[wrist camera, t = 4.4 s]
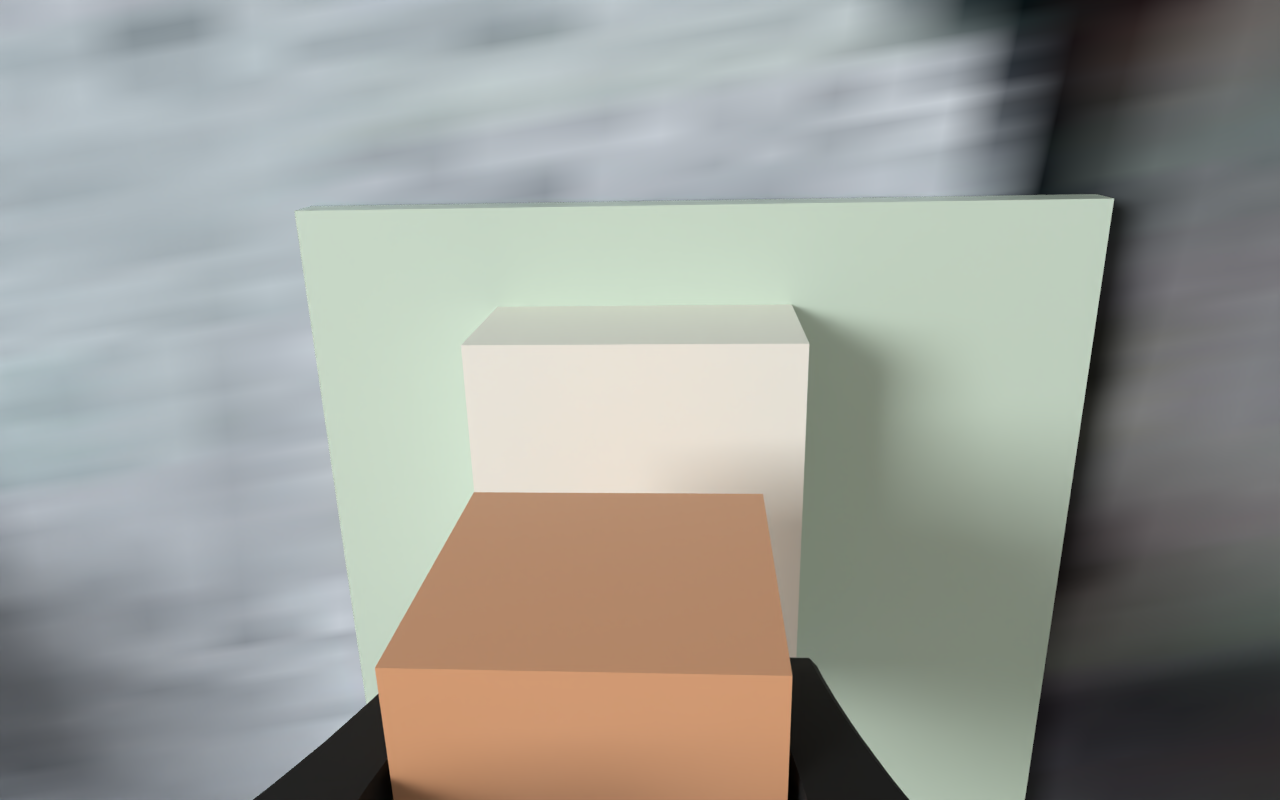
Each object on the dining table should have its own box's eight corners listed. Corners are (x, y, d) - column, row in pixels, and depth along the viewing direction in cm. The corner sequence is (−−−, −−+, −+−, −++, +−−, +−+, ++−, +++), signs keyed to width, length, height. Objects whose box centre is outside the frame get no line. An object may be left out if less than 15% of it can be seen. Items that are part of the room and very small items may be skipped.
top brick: (754, 838, 14) (775, 1113, 10) (505, 830, 14) (435, 1096, 10) (763, 493, 12) (792, 676, 8) (473, 491, 12) (374, 667, 9)
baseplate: (981, 1000, 25) (990, 1028, 24) (418, 976, 26) (409, 1003, 25) (1095, 193, 18) (1114, 198, 17) (311, 205, 19) (294, 211, 18)
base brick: (779, 644, 20) (793, 733, 18) (523, 640, 21) (495, 725, 18) (791, 304, 18) (809, 343, 15) (497, 306, 18) (460, 345, 15)
